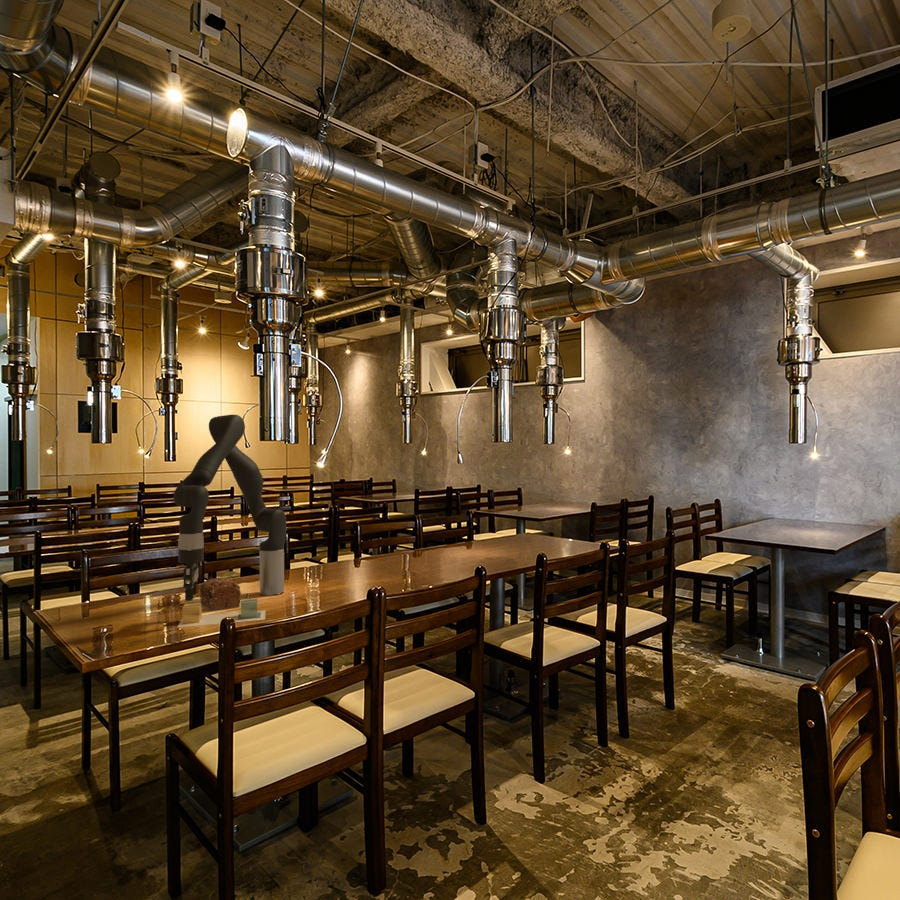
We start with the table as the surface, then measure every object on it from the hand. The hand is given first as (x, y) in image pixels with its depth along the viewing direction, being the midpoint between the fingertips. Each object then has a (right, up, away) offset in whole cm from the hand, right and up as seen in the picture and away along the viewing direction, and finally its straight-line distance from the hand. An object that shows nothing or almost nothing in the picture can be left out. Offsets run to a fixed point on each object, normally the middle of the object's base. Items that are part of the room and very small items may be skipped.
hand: (191, 597), depth 186 cm
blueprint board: (+9, -8, +3) cm, 13 cm away
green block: (+17, -7, +5) cm, 19 cm away
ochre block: (0, -8, 0) cm, 8 cm away
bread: (0, -9, +22) cm, 24 cm away
